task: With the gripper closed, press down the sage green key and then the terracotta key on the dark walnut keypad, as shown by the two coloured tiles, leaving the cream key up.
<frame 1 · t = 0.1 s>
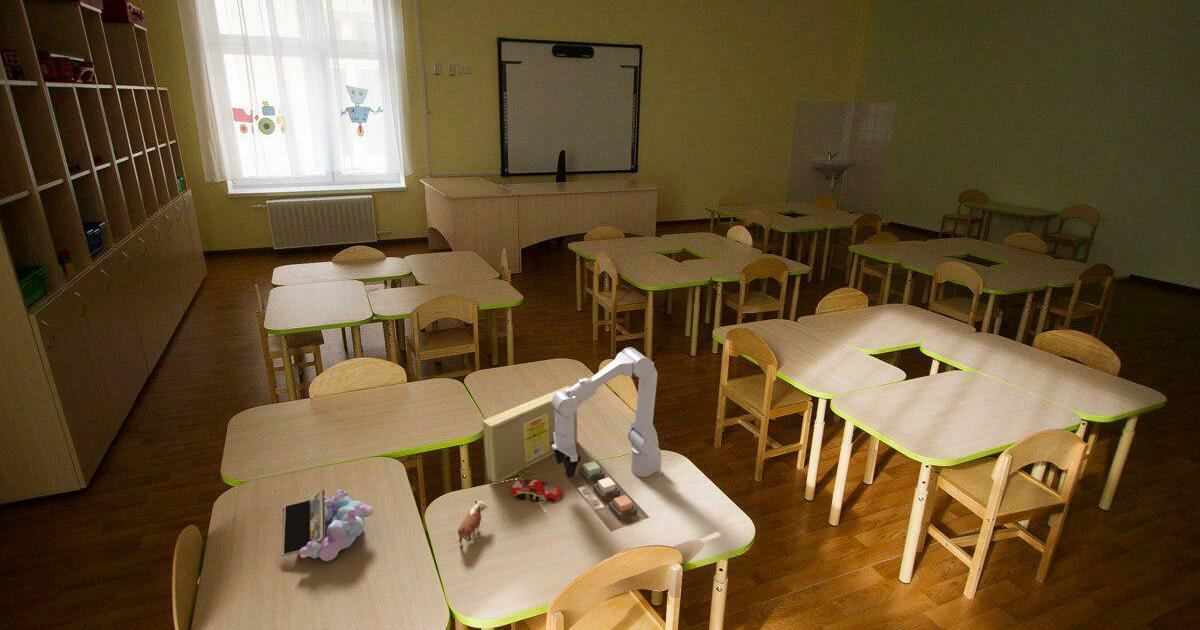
hand: (565, 469, 193), 10 cm above the table, fingers open, 7 cm apart
terracotta key: (622, 503, 188), point 4 cm above the table, slide at 0.0 cm
cloud picture frame: (331, 544, 176), on the table
beige flat box: (534, 461, 214), on the table
cream key: (606, 485, 196), point 4 cm above the table, slide at 0.0 cm
bull figurine: (473, 535, 180), on the table
sage key: (591, 468, 204), point 4 cm above the table, slide at 0.0 cm
keypad: (603, 496, 197), on the table
race car: (537, 497, 197), on the table
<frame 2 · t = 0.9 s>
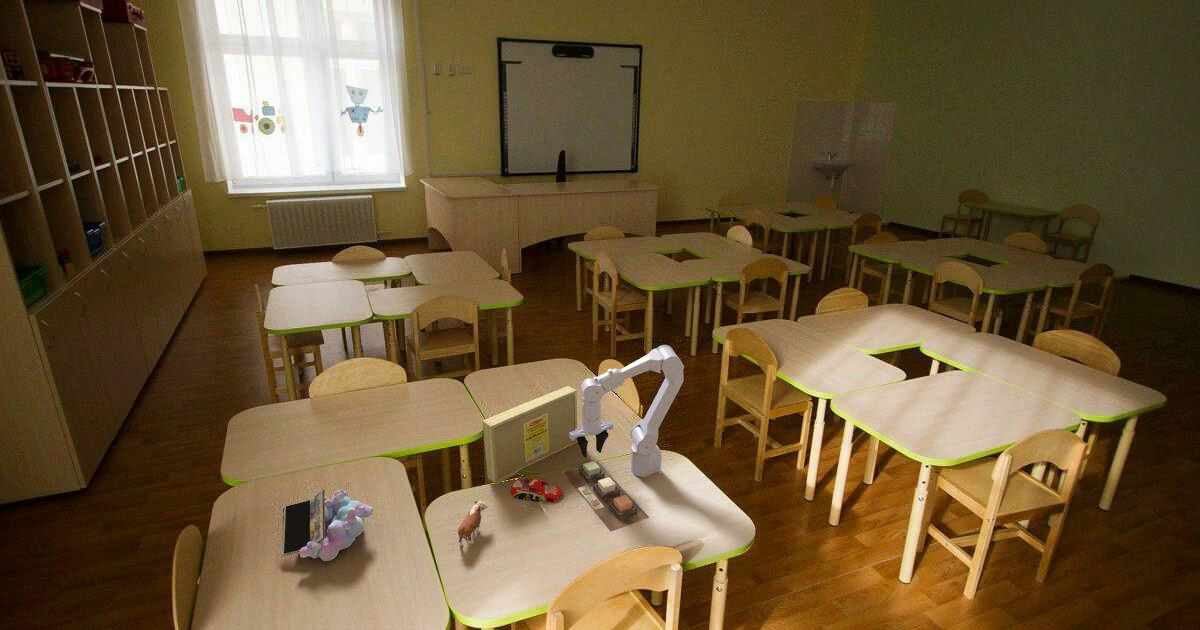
hand: (591, 453, 202), 9 cm above the table, fingers open, 5 cm apart
nothing on the table moved.
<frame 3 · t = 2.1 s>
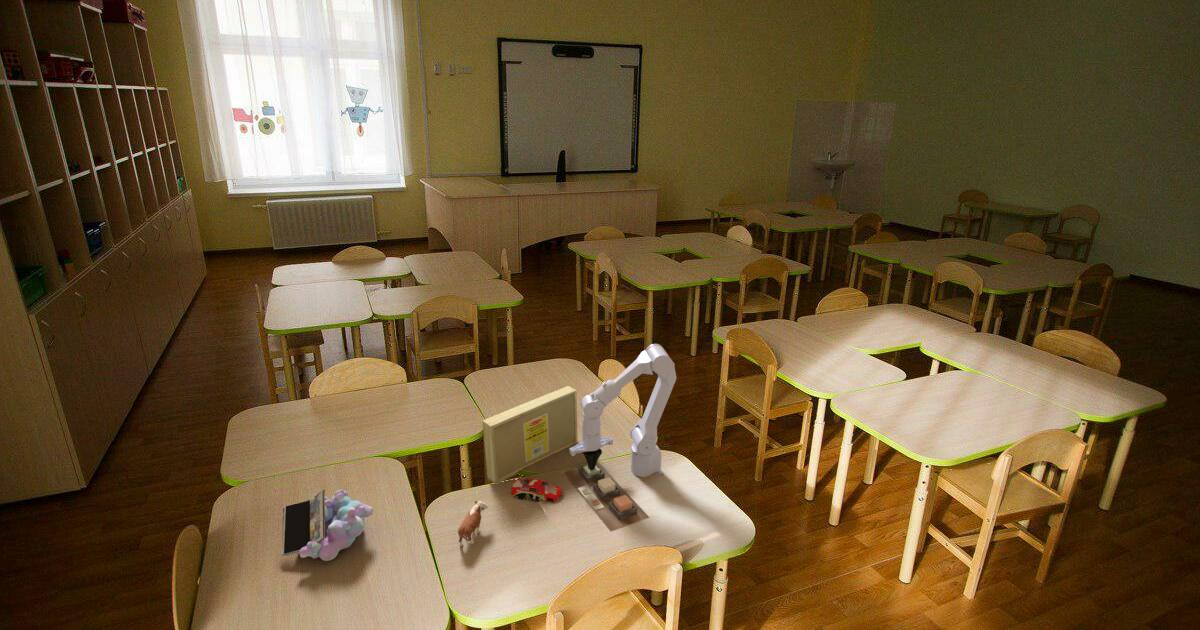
hand: (591, 468, 204), 4 cm above the table, fingers closed, pressing on sage key
sage key: (591, 471, 204), point 3 cm above the table, slide at 1.0 cm, touching gripper
everything else where it was.
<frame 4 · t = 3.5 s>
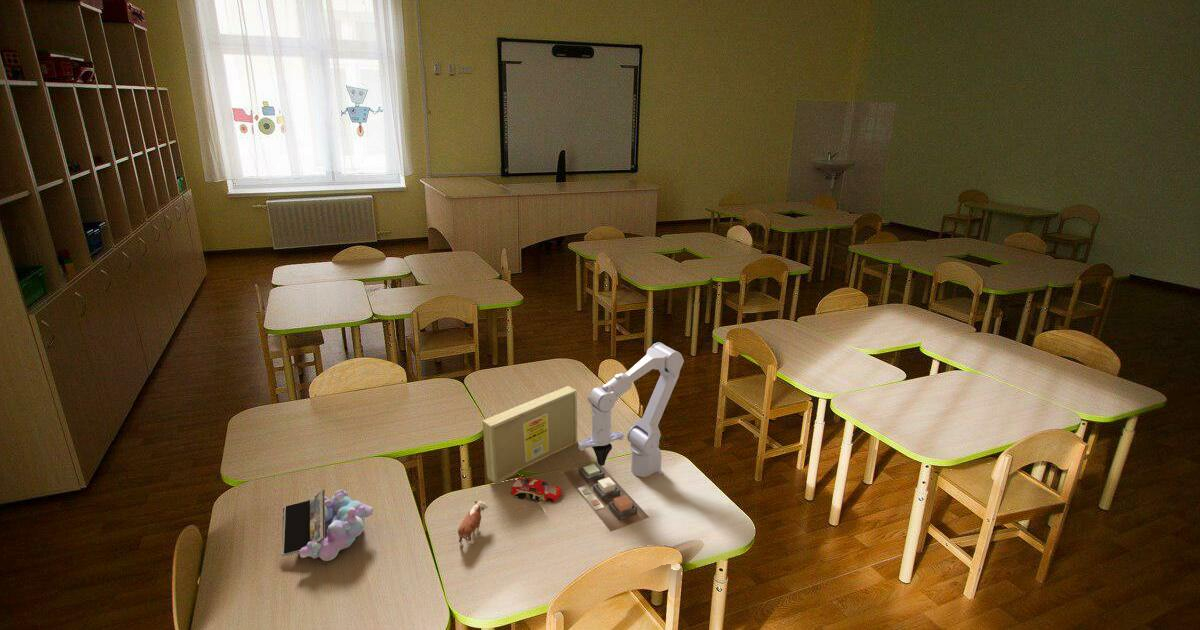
hand: (601, 463, 197), 9 cm above the table, fingers closed
sage key: (591, 472, 204), point 2 cm above the table, slide at 1.2 cm
everything else where it was.
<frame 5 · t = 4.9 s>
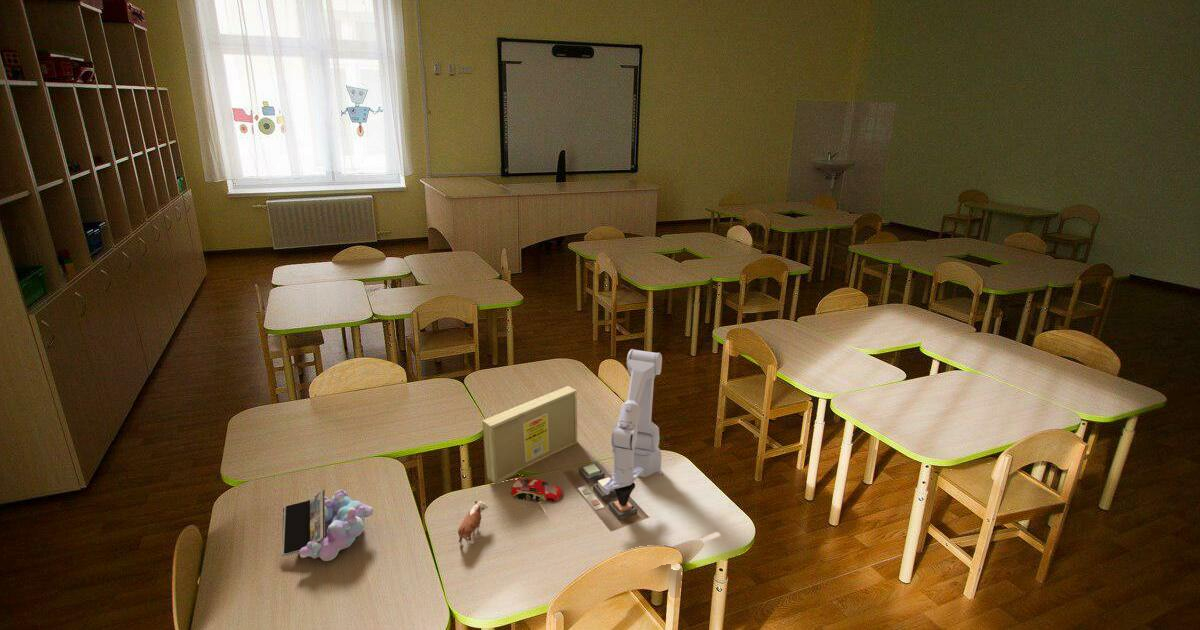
hand: (622, 503, 188), 4 cm above the table, fingers closed, pressing on terracotta key
terracotta key: (622, 507, 188), point 2 cm above the table, slide at 1.2 cm, touching gripper
everything else where it was.
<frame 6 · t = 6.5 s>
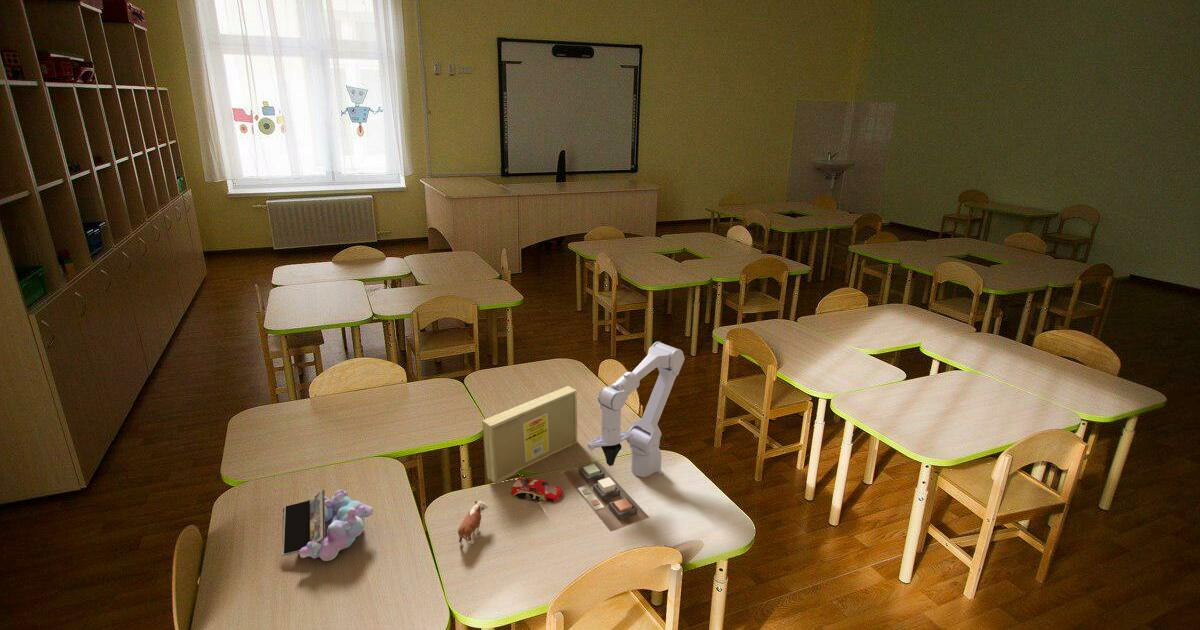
hand: (610, 464, 195), 10 cm above the table, fingers closed
terracotta key: (622, 507, 188), point 2 cm above the table, slide at 1.2 cm
everything else where it was.
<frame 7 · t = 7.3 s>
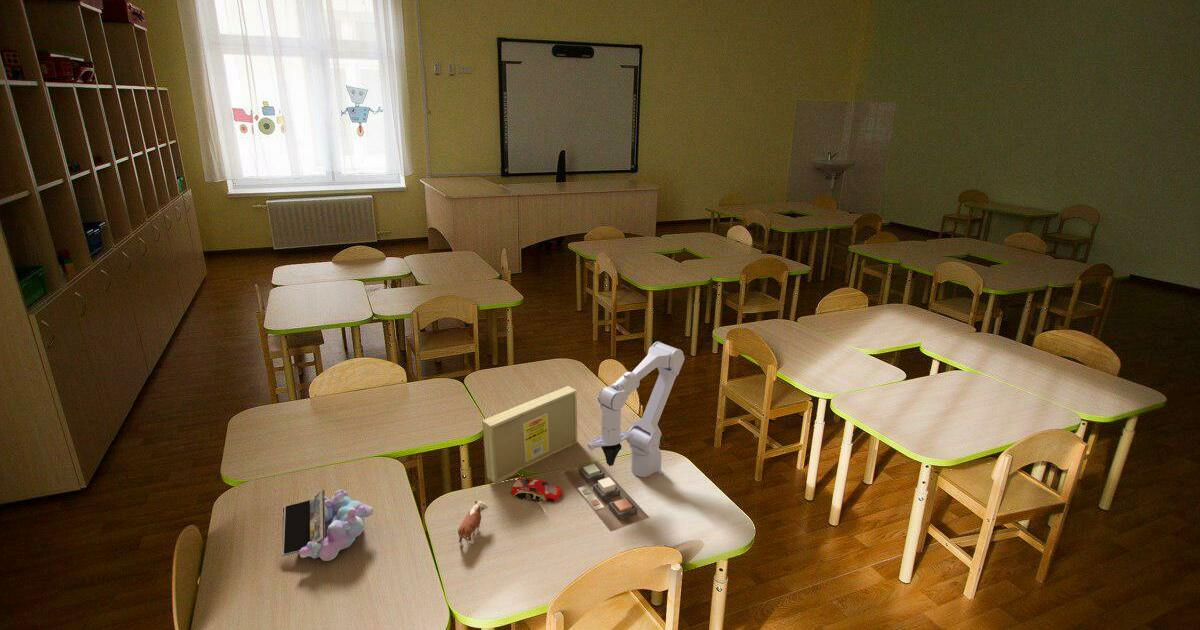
hand: (610, 464, 195), 10 cm above the table, fingers closed
nothing on the table moved.
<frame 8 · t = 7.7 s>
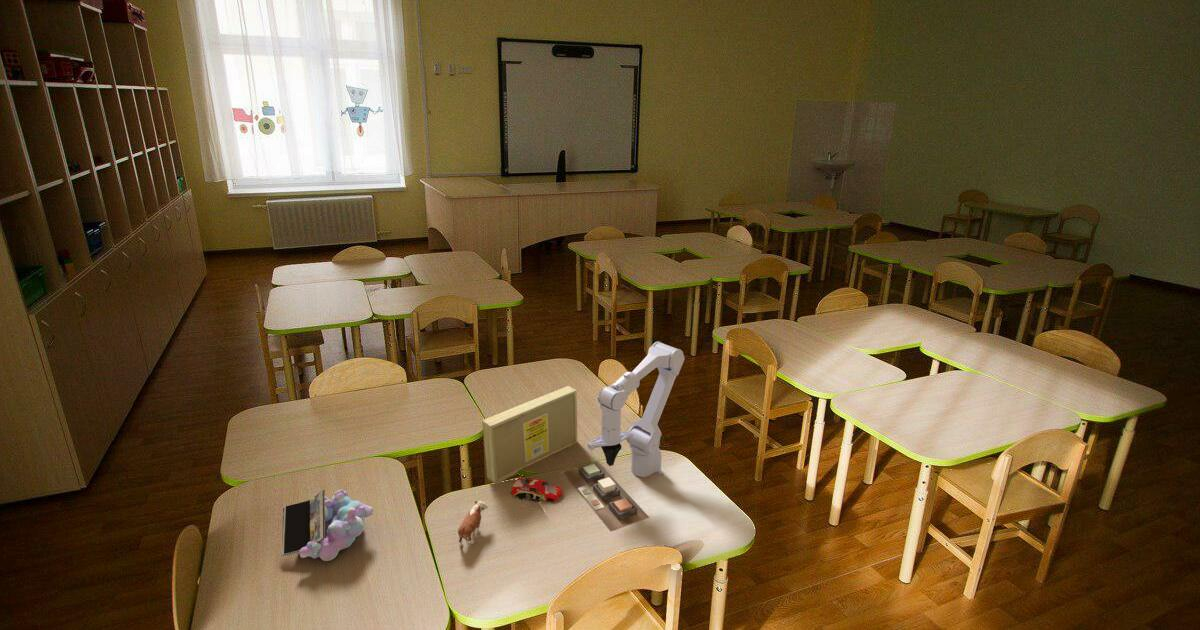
hand: (610, 464, 195), 10 cm above the table, fingers closed
nothing on the table moved.
at the end: sage key slide at 1.2 cm; terracotta key slide at 1.2 cm; cream key slide at 0.0 cm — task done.
